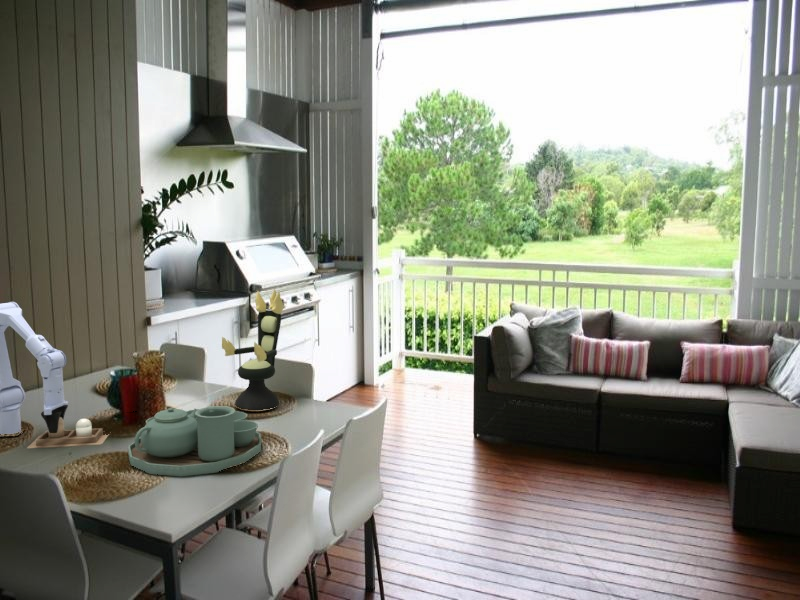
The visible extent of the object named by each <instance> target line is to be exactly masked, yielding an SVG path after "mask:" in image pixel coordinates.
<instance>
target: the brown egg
mask: <svg viewBox="0 0 800 600" xmlns="http://www.w3.org/2000/svg"><path fill="white" fill-rule="evenodd" d="M64 430H65V422H64V420H63V419H62V418H61V417H59V422H58V431H57V433H49V430H48V429H47V431H48V437H49V438H60V437H63V436H64Z"/></svg>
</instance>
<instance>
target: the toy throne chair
mask: <svg viewBox="0 0 800 600" xmlns="http://www.w3.org/2000/svg"><path fill="white" fill-rule="evenodd" d="M254 303H255V307H256V308H255V310H256V312H258V314H257V343H256V342H255V341H254V342H253V343H254V344H253V345H254V346H248V347H239V348H235V346H234V344H233V343H232V342H231V341H230V340H229V339H226V338H225V337H223V336H222V337H221V349H223V350H224V351H225V352H224V353H225V354H224V356H225V357H229V356H234V355H244V354H248V353H249V354H250V353H254V355H255V357H256V359H251V360H248V361H246V362H244V363H243V364H242V365H241V366H239V367H238V369H237V375H238V376H239V378H241V379H243V380H247V381H248V386H247V387H246V388H245V390H243V391H242V392H241V393H240V394H239V395H238V396H237V398H236V399H235V402H234V406H235V405H236V406H237V407H239V408H241V409H248V410H263V409H270V408H274V407H276V406H277V407H278V406H279V405H280V400H279V398H278V396H277V394H275V392H273V391H272V390H271V389H269V388H268V387H267V386H266V384H265V380H268V379H271V378H273V376H274V375H275V374H276V369H275V361H276V356H277V354H278V351H277V347H278V341H279V340H278V339H279V335H280V329H281V322H282V312H283V310H284V303H283V299H282V297H281V294H280V291H278V292H277V291H276V289H275V288H274V289H273V291H272V293H271V296H270V297H269V303H270V304H269V307H268V308H269V309H270V310H266V309H267V304H266V302H265V300H264V299H263V297H262V296H261V293H260V291H259V290H257V291H256V296H255V300H254ZM277 407H276V408H277Z"/></svg>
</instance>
